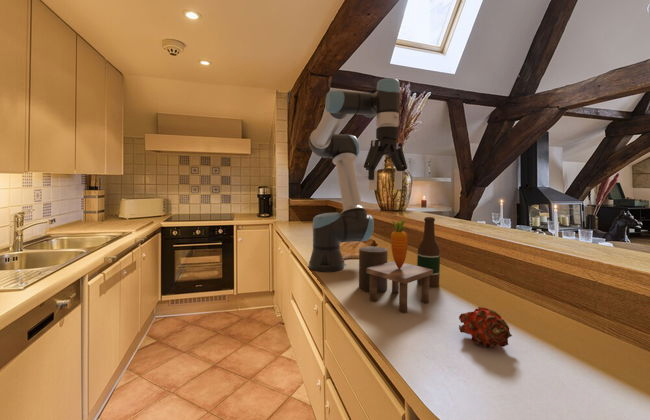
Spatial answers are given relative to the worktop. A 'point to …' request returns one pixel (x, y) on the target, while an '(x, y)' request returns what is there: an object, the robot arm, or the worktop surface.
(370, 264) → the pillar candle
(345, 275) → the worktop surface
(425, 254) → the beer bottle
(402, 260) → the carrot
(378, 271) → the walnut stool
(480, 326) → the dragon fruit
